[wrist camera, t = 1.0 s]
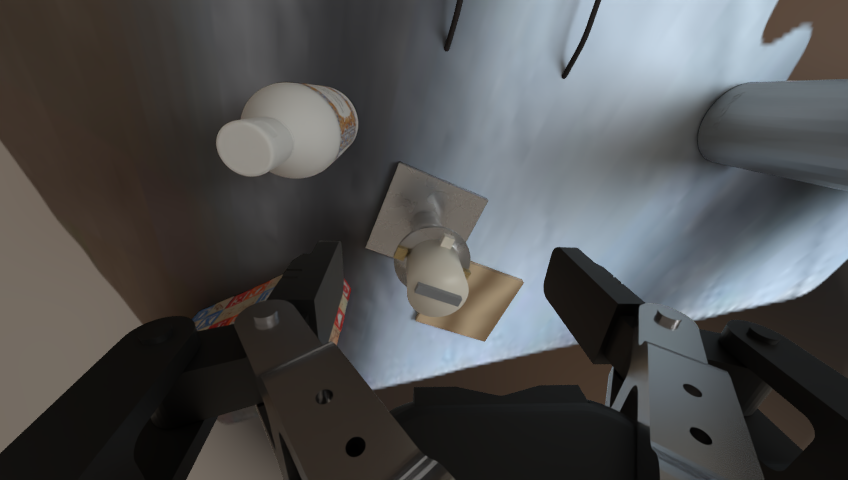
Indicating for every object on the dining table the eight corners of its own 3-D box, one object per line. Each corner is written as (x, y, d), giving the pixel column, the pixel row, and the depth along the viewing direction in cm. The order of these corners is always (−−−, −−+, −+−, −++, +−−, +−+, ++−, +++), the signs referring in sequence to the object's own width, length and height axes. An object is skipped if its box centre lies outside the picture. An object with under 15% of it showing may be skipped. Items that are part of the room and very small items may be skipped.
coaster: (521, 279, 45) (523, 282, 44) (483, 337, 49) (484, 341, 49) (449, 253, 42) (450, 255, 42) (415, 317, 47) (415, 320, 46)
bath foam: (371, 120, 34) (339, 148, 16) (333, 165, 36) (266, 235, 18) (320, 70, 32) (215, 39, 14) (282, 121, 34) (146, 152, 16)
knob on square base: (486, 198, 39) (516, 234, 29) (446, 272, 44) (460, 327, 33) (399, 161, 36) (398, 187, 26) (366, 244, 41) (354, 294, 31)
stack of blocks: (227, 339, 46) (173, 416, 35) (198, 310, 44) (129, 383, 33) (352, 288, 44) (336, 353, 33) (329, 253, 41) (303, 312, 30)
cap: (472, 241, 30) (486, 271, 24) (440, 298, 32) (448, 335, 27) (423, 222, 28) (427, 249, 23) (394, 283, 31) (393, 319, 26)
